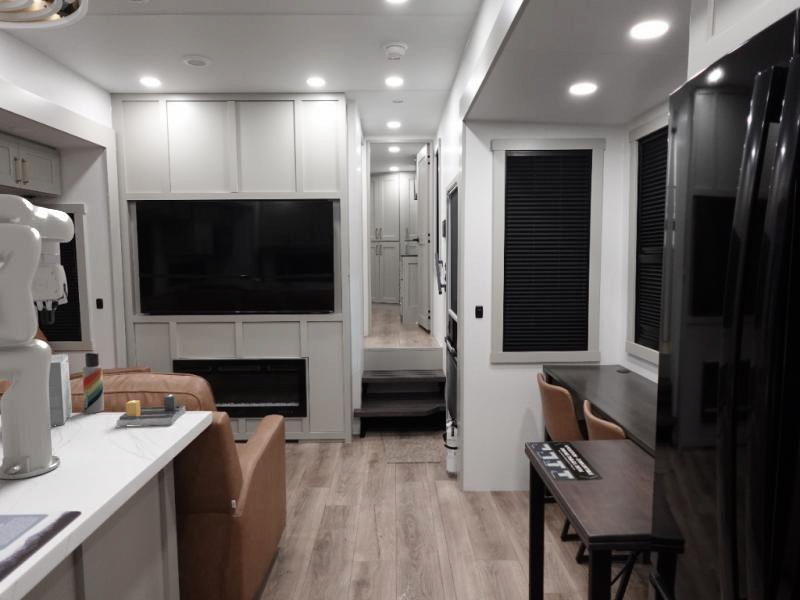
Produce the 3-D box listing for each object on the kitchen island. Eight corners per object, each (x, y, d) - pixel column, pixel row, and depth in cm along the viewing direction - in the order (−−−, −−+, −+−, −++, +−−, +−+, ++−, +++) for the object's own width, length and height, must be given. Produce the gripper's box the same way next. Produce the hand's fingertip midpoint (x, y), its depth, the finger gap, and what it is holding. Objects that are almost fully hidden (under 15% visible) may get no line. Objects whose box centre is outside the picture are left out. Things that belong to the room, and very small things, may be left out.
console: (171, 424, 159) (171, 416, 159) (117, 427, 157) (116, 418, 157) (185, 412, 173) (185, 404, 173) (135, 413, 171) (135, 406, 171)
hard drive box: (44, 415, 170) (41, 355, 169) (72, 412, 173) (69, 353, 172) (34, 428, 156) (31, 363, 155) (64, 425, 159) (61, 361, 158)
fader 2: (174, 410, 167) (173, 396, 167) (164, 411, 167) (163, 396, 166) (177, 408, 170) (176, 394, 170) (167, 408, 170) (167, 394, 169)
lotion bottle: (80, 412, 173) (77, 353, 171) (95, 408, 178) (92, 350, 177) (93, 414, 171) (91, 354, 170) (108, 409, 176) (105, 351, 175)
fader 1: (136, 417, 160) (136, 402, 160) (126, 417, 160) (125, 402, 159) (140, 414, 163) (139, 399, 163) (130, 414, 163) (129, 400, 162)
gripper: (8, 260, 145) (12, 325, 147) (65, 260, 147) (68, 324, 148) (25, 261, 153) (28, 322, 154) (78, 260, 154) (81, 322, 156)
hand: (48, 323), depth 151 cm, fingers closed
